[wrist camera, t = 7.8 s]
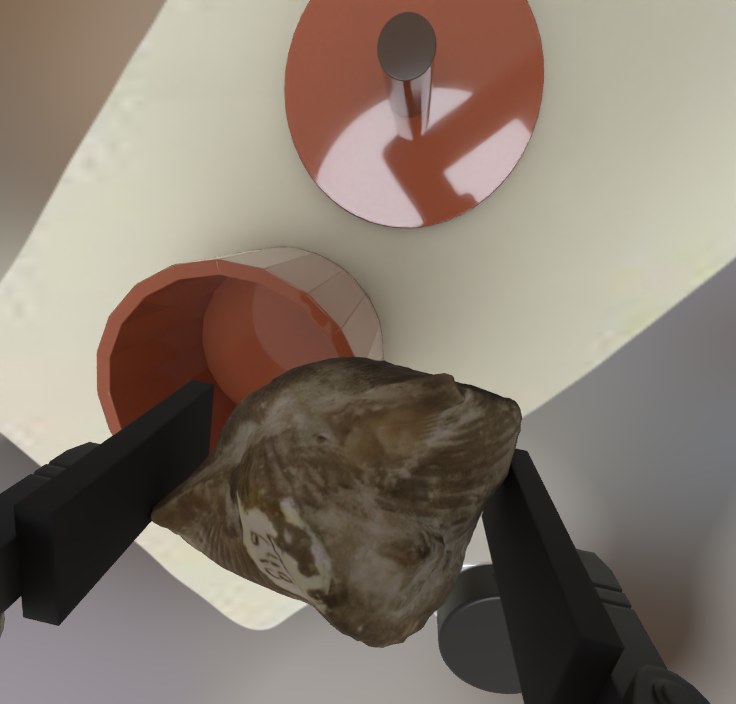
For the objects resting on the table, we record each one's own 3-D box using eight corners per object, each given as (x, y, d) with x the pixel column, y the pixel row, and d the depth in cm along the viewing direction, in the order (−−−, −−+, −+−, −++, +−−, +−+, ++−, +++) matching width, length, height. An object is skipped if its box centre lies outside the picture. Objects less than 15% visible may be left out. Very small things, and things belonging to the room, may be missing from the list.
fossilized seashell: (503, 287, 10) (162, 348, 13) (556, 621, 6) (27, 592, 9) (524, 445, 15) (278, 461, 18) (560, 679, 11) (230, 648, 14)
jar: (547, 533, 37) (604, 672, 26) (467, 572, 39) (488, 715, 28) (491, 458, 36) (526, 569, 24) (411, 502, 38) (408, 624, 26)
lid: (575, -31, 25) (654, -158, 17) (497, 248, 31) (528, 258, 22) (307, -75, 26) (254, -218, 18) (276, 203, 31) (223, 197, 23)
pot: (401, 269, 32) (392, 295, 21) (363, 448, 37) (340, 545, 26) (202, 229, 33) (94, 233, 22) (191, 409, 37) (97, 487, 27)
